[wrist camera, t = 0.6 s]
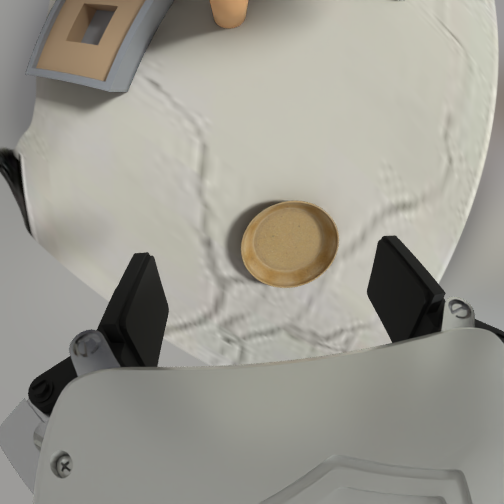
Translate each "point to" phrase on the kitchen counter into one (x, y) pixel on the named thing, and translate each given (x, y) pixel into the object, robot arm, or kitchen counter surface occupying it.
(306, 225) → the plant saucer
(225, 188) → the kitchen counter surface
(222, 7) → the peg
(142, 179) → the kitchen counter surface
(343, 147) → the kitchen counter surface
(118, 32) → the box
